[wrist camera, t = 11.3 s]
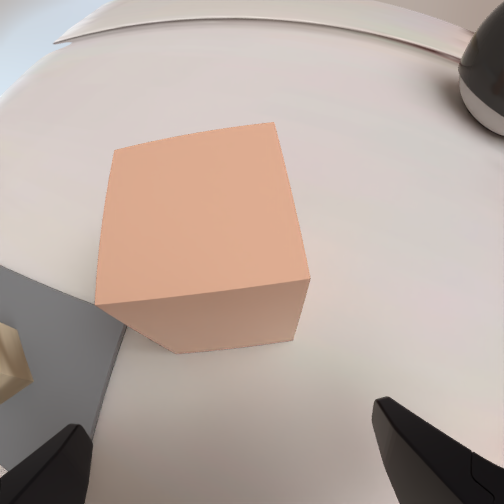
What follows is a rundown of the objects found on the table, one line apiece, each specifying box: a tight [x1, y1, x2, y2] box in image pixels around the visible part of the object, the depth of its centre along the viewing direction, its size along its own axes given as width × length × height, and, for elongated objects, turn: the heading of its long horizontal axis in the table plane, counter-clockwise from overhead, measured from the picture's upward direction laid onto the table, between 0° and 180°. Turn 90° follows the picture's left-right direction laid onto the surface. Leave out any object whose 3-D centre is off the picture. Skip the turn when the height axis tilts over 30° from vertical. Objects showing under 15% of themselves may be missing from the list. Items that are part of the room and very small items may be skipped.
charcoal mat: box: [0, 265, 127, 471], centre depth 16 cm, size 14×14×1 cm
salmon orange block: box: [95, 122, 311, 354], centre depth 14 cm, size 6×6×9 cm
